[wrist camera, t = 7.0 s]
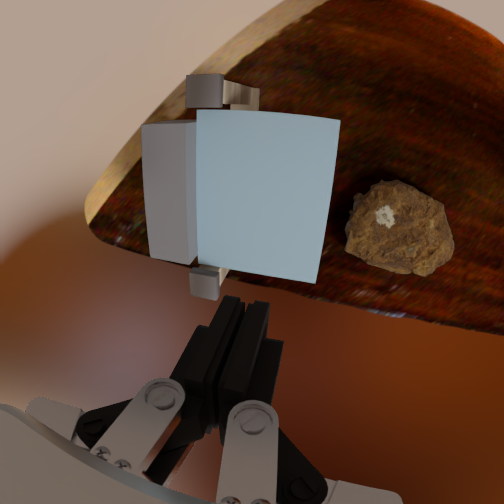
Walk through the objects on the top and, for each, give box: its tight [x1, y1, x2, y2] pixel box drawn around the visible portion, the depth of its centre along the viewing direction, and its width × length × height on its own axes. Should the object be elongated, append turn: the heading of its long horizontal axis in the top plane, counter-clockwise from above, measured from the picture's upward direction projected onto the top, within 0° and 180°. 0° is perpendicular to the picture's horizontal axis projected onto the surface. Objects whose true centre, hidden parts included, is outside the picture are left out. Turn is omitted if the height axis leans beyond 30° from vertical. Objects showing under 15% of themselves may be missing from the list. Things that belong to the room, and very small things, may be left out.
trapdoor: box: [141, 109, 340, 283], centre depth 24 cm, size 15×14×5 cm
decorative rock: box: [344, 180, 454, 277], centre depth 31 cm, size 11×4×15 cm
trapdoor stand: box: [185, 74, 260, 301], centre depth 28 cm, size 3×20×13 cm, turn 177°
